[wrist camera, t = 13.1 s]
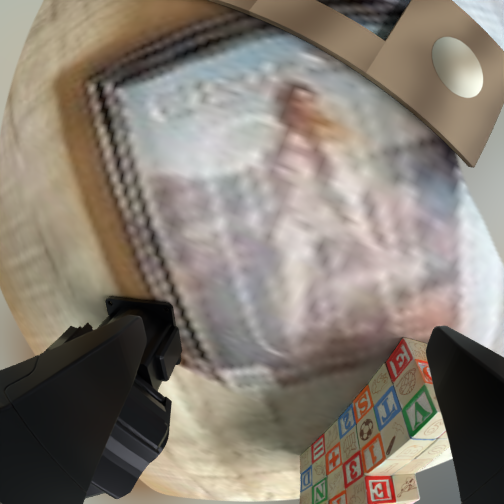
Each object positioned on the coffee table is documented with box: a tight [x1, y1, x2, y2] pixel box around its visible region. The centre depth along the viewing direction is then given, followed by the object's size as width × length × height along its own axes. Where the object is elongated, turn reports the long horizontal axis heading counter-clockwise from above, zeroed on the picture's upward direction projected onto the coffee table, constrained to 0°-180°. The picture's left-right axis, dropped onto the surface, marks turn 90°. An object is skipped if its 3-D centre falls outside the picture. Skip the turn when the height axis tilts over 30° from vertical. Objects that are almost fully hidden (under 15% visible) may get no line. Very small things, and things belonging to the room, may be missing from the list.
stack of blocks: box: [300, 338, 450, 504], centre depth 21 cm, size 21×6×12 cm, turn 161°
